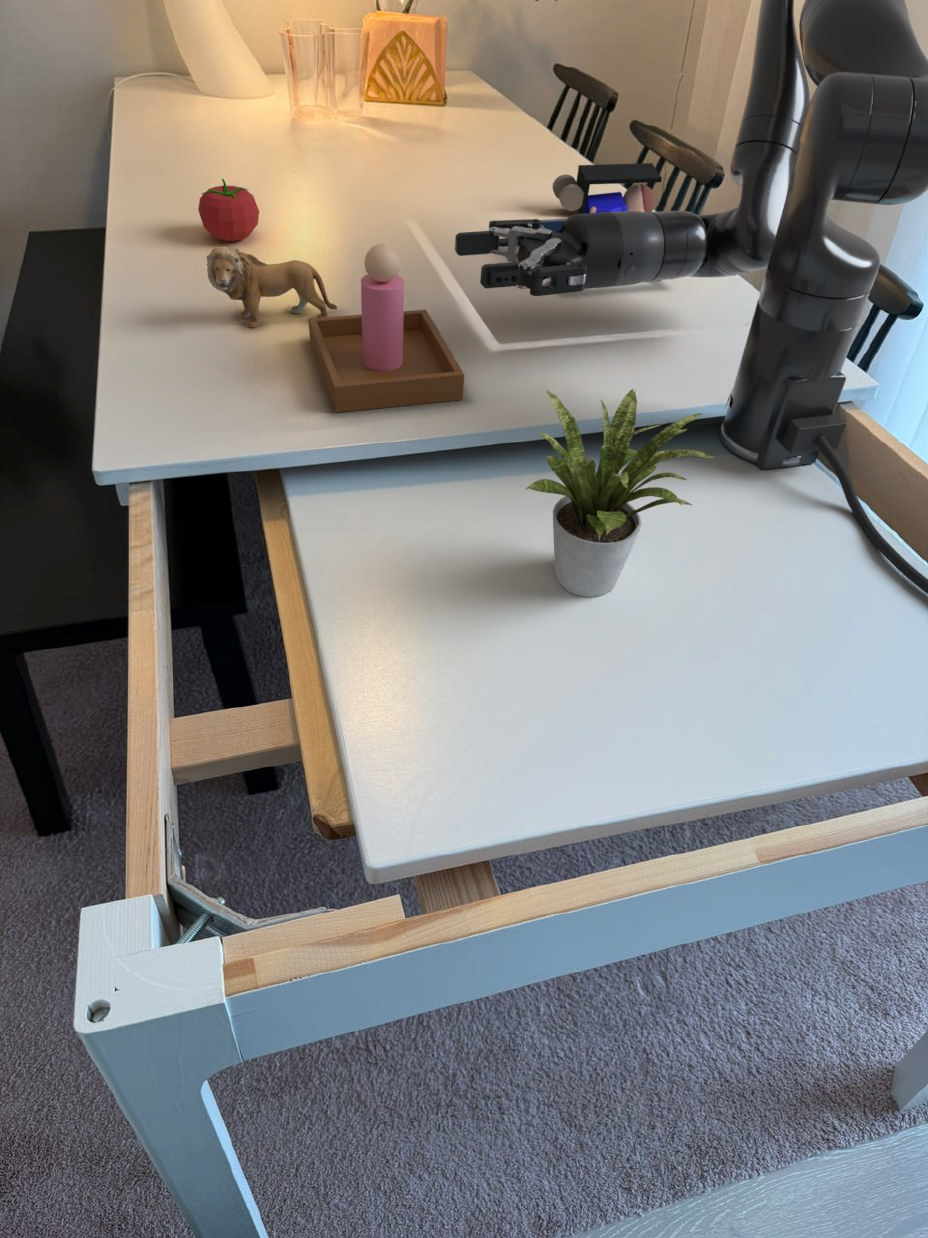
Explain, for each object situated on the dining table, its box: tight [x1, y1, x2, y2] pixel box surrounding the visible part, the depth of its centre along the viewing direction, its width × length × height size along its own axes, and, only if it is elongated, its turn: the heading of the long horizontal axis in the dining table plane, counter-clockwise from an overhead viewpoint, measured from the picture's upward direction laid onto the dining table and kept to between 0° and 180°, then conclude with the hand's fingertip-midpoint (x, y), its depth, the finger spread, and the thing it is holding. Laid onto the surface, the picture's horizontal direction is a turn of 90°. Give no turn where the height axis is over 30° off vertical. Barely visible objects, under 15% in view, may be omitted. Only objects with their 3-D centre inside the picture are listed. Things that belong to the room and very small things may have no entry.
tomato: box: [197, 178, 260, 242], centre depth 123 cm, size 8×8×8 cm
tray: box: [307, 309, 465, 414], centre depth 100 cm, size 16×14×3 cm
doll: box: [360, 243, 405, 371], centre depth 96 cm, size 4×4×13 cm
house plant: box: [524, 388, 716, 598], centre depth 71 cm, size 14×14×16 cm
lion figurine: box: [206, 246, 338, 329], centre depth 106 cm, size 15×5×9 cm, turn 113°
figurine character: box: [552, 162, 663, 214], centre depth 137 cm, size 7×8×15 cm
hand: (468, 260), depth 95 cm, fingers open, 8 cm apart
